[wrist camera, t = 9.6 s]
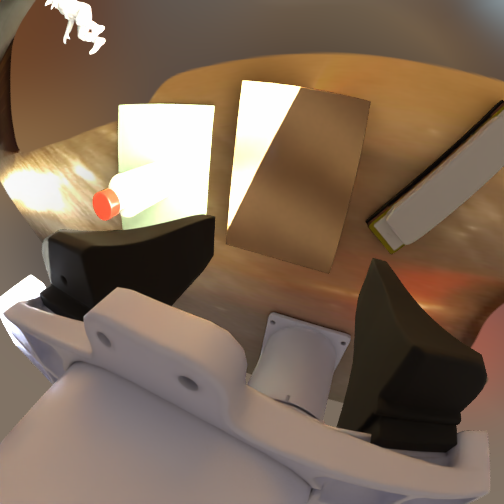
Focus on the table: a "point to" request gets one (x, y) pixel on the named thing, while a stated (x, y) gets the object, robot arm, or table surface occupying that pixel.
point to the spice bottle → (133, 191)
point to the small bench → (294, 171)
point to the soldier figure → (79, 21)
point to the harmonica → (443, 184)
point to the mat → (168, 155)
